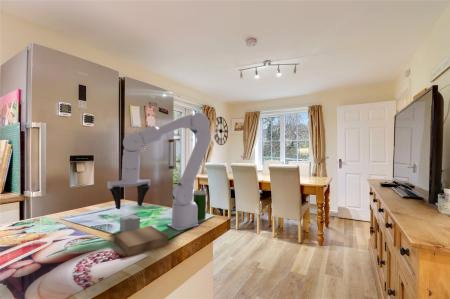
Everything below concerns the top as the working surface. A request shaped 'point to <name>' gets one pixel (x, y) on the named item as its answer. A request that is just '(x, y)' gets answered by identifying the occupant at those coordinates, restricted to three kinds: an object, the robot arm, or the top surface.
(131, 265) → the top surface
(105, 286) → the top surface
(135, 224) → the grey cube
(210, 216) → the top surface
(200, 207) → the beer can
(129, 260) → the top surface
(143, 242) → the walnut slab
